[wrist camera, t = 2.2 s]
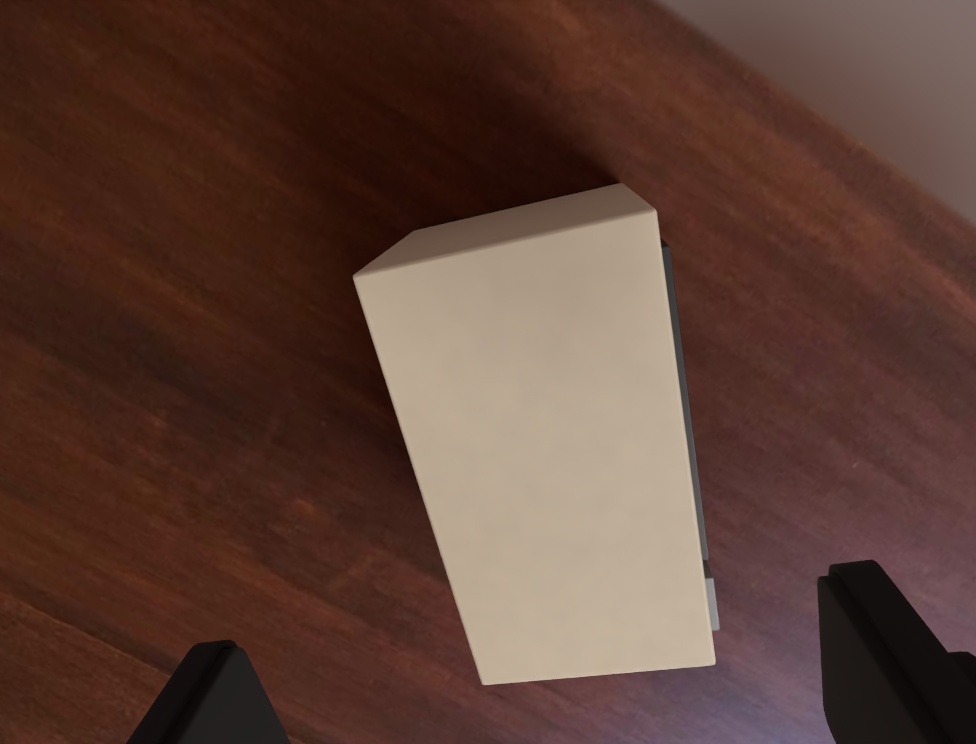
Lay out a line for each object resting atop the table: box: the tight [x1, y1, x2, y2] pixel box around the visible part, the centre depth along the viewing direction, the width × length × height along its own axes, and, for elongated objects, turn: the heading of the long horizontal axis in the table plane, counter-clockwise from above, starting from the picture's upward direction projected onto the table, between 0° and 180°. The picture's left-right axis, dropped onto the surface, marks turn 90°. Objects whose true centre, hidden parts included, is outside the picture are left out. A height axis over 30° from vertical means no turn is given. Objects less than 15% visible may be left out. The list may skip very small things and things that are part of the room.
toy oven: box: [353, 183, 720, 685], centre depth 17 cm, size 7×12×6 cm, turn 13°
